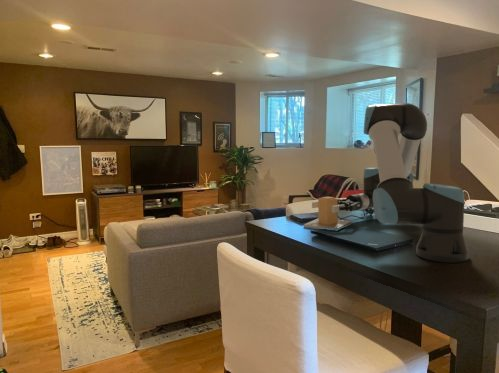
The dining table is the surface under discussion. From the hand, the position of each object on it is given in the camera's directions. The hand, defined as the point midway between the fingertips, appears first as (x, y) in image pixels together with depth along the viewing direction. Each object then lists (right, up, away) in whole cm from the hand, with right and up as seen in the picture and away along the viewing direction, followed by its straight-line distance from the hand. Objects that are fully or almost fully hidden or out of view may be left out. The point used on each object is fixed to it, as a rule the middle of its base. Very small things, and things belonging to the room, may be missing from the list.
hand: (322, 207), depth 163 cm
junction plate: (+3, -9, +3) cm, 10 cm away
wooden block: (+3, -7, +3) cm, 8 cm away
